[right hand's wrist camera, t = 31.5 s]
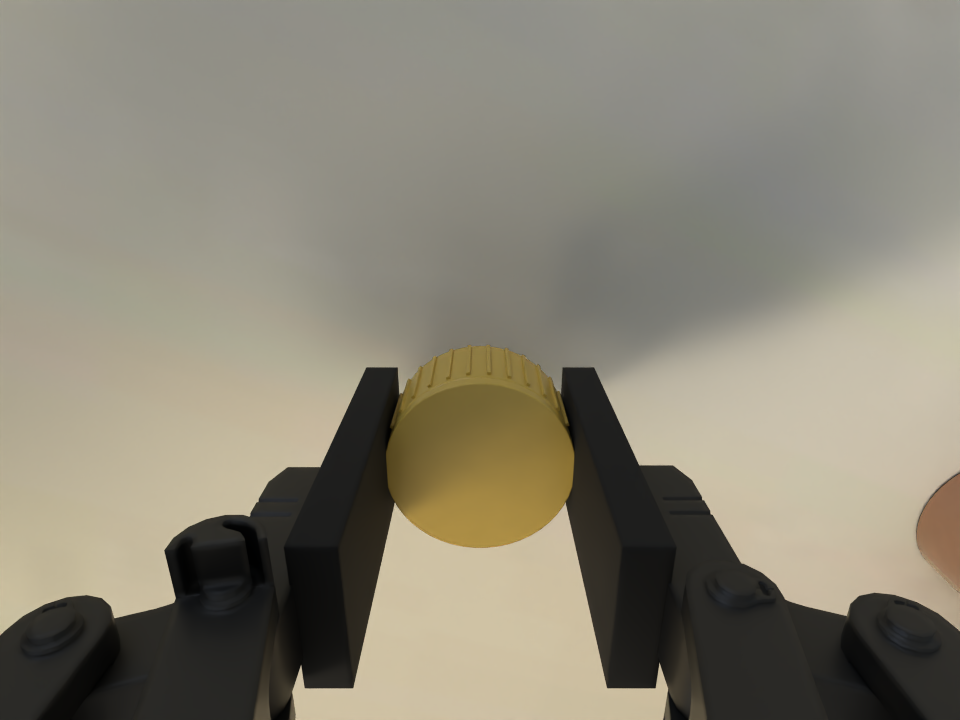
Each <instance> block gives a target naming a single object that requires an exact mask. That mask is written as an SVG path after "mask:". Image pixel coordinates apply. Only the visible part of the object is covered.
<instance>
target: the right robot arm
mask: <svg viewBox="0 0 960 720" xmlns="http://www.w3.org/2000/svg"><path fill="white" fill-rule="evenodd" d="M561 397H562V401H563V404H564V408H565V411H566V415H567V418H568V422H569V425H570V426H568V428H569V432H570V435H571V439H572V444H573V448H574V470H573V484H572V489H571V492H570V494H569V497H568V498H567V500H566V506H567V511H568V515H569V520H570V524H571V528H572V533H573V537H574V542H575V546H576V551H577V555H578V560H579V564H580V569H581V573H582V578H583V582H584V587H585V591H586V596H587V600H588V604H589V609H590V613H591V618H592V622H593V627H594V631H595V636H596V640H597V645H598V649H599V654H600V658H601V663H602V667H603V671H604V676H605V680H606V685H607V688H656V682H657V675H658V668H659V662H660V665H661V668H662V671H663V674H664V677H665V680H666V683H667V686H668V694H667V701H666V707H665V713H664V719H663V720H960V631H959V630H958V629H957V628H955V627H954V626H953V625H952V624H950V623H949V622H948V621H947V620H945V619H944V618H943V617H942V616H940V615H939V614H938V613H936V612H934V611H932V610H930V609H928V608H927V607H925V606H923V605H921V604H919V603H917V602H914V601H911V600H908V599H905V598H902V597H899V596H896V595H890V594H880V593H871V594H867V595H862V596H859V597H858V598H857V599H855V600H854V601H853V602H852V603H851V604H850V608H849V611H848V614H847V616H844V615H839V614H835V613H831V612H827V611H822V610H818V609H814V608H809V607H805V606H802V605H799V604H795V603H792V602H789V601H787V600H785V599H784V597H783V595H782V593H781V592H780V590H779V589H778V587H777V586H776V584H775V583H773V582H772V581H771V580H770V579H769V578H767V577H766V576H765V575H764V574H763V573H761V572H759V571H757V570H755V569H753V568H751V567H749V566H747V565H745V564H741V562H740V561H739V559H738V557H737V556H736V554H735V552H734V551H733V549H732V547H731V545H730V544H729V542H728V540H727V539H726V537H725V535H724V534H723V532H722V530H721V529H720V527H719V525H718V523H717V522H716V520H715V518H714V517H713V515H711V514H710V510H709V508H708V506H707V505H706V503H705V501H704V500H702V496H701V495H700V493H699V491H698V490H697V488H696V486H695V484H694V483H693V481H692V480H691V479H690V478H689V477H687V476H686V475H685V474H683V473H682V472H681V471H679V470H678V469H677V468H675V467H674V466H639V464H638V462H637V460H636V458H635V455H634V453H633V451H632V449H631V447H630V445H629V442H628V440H627V438H626V436H625V434H624V432H623V429H622V427H621V425H620V423H619V421H618V419H617V416H616V414H615V412H614V410H613V408H612V406H611V403H610V401H609V399H608V397H607V395H606V393H605V390H604V388H603V386H602V384H601V382H600V380H599V377H598V375H597V373H596V371H595V369H594V368H563V370H562V388H561ZM398 398H399V381H398V368H366V370H365V372H364V374H363V376H362V378H361V380H360V383H359V385H358V387H357V389H356V391H355V393H354V396H353V398H352V400H351V402H350V404H349V406H348V409H347V411H346V413H345V415H344V417H343V419H342V422H341V424H340V426H339V428H338V430H337V432H336V435H335V437H334V439H333V441H332V443H331V445H330V448H329V450H328V452H327V454H326V456H325V458H324V461H323V463H322V465H321V467H288V468H286V469H285V470H284V471H282V472H281V473H280V474H278V475H277V476H276V477H275V478H273V479H272V480H271V481H269V482H268V484H267V486H266V488H265V489H264V491H263V493H262V494H261V496H260V498H259V502H257V503H256V505H255V506H254V508H253V510H252V511H251V515H250V517H248V516H245V515H224V516H219V517H215V518H210V519H206V520H204V521H201V522H199V523H197V524H195V525H192V526H190V527H188V528H187V529H185V530H184V531H182V532H181V533H180V534H178V535H177V536H176V537H174V538H173V539H172V541H171V542H170V543H169V545H168V546H167V548H166V549H165V550H164V551H165V555H166V559H167V563H168V567H169V572H170V576H171V580H172V584H173V588H174V592H175V596H176V600H175V602H174V603H173V604H170V605H166V606H163V607H160V608H157V609H153V610H149V611H144V612H140V613H136V614H131V615H127V616H123V617H119V618H114V616H113V613H112V609H111V606H110V605H109V604H107V603H106V602H105V601H104V600H103V599H102V598H98V597H93V596H88V595H85V596H75V597H67V598H64V599H60V600H57V601H54V602H51V603H48V604H45V605H43V606H41V607H39V608H38V609H36V610H34V611H32V612H30V613H28V614H26V615H24V616H23V617H22V618H20V619H19V620H18V621H17V622H15V623H14V624H13V625H12V626H10V627H9V628H8V629H7V630H5V631H4V632H3V633H2V634H1V635H0V720H295V715H296V714H295V707H294V701H293V694H292V690H293V687H294V684H295V681H296V678H297V675H298V672H299V669H300V666H302V673H303V679H304V686H305V688H353V687H354V682H355V678H356V673H357V669H358V664H359V660H360V655H361V651H362V646H363V642H364V637H365V633H366V629H367V624H368V620H369V615H370V611H371V606H372V602H373V597H374V593H375V588H376V584H377V579H378V575H379V570H380V566H381V561H382V557H383V552H384V548H385V544H386V539H387V535H388V530H389V526H390V521H391V517H392V512H393V508H394V503H395V501H394V500H393V498H392V496H391V493H390V491H389V488H388V478H387V463H386V449H387V444H388V441H389V437H390V434H391V430H392V429H391V428H390V425H391V422H392V418H393V415H394V412H395V408H396V405H397V402H398Z"/></svg>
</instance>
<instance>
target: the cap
mask: <svg viewBox="0 0 960 720" xmlns="http://www.w3.org/2000/svg"><path fill="white" fill-rule="evenodd" d="M568 426H570V425H569V422H568V418H567V415H566V411H565V408H564V404H563V401H562V397H561V394H560V392H559V391H556V389H555V387H554V385H553V381H552V378H551V377H549V378H548V377H547V376H546V374H545V373H544V372H543V371H542V370H541V368H540V366H539V365H538V364H537V365H535V364H533V363H532V362H531V361H529V360H528V359H526V357H525V356H524V355H522V356H520V355H518V354H516V353H514V352H511V351H509V350H508V349H507V348H505V350H504V349H500V348H495V347H490V345H486V346H473V347H471V345H468V347H465V348H460V349H456V350H453V349H450V350H449V352H447V353H445V354H442V355H440V356H438V357H436V356H434V357H433V359H432V360H431V361H430V362H428V363H427V364H426V365H424V366H423V367H422V366H420V367H419V368H418V372H417V373H416V374H415V375H414V376H413V378H412V379H408V380H407V383H406V387H405V390H404V392H403V394H402V393H400V395H399V398H398V402H397V405H396V408H395V412H394V415H393V418H392V422H391V425H390V428H391V429H392V430H391V434H390V437H389V441H388V444H387V449H386V463H387V478H388V488H389V491H390V493H391V496H392V498H393V500H394V501H395V503H396V505H397V507H398V508H399V509H400V510H401V512H402V513H403V514H404V516H405V517H406V518H407V519H408V520H409V521H410V522H411V523H413V524H414V525H415V526H416V527H418V528H419V529H420V530H422V531H423V532H425V533H427V534H428V535H430V536H432V537H434V538H436V539H439V540H441V541H444V542H447V543H450V544H454V545H458V546H463V547H473V548H488V547H497V546H502V545H507V544H511V543H514V542H517V541H519V540H522V539H524V538H526V537H528V536H530V535H532V534H534V533H535V532H537V531H539V530H540V529H542V528H543V527H544V526H545V525H547V524H548V523H549V522H550V521H551V520H552V519H553V518H554V517H555V516H556V515H557V514H558V512H559V511H560V510H561V508H562V507H563V506H564V504H565V502H566V500H567V498H568V497H569V494H570V492H571V489H572V484H573V470H574V448H573V444H572V439H571V435H570V432H569V428H568Z"/></svg>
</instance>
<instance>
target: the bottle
mask: <svg viewBox="0 0 960 720" xmlns="http://www.w3.org/2000/svg"><path fill="white" fill-rule="evenodd" d="M917 543H918V547H919V550H920V552H921V554H922V556H923V557H924V559H925V560H926V561H927V562H928V563H929V564H930V565H931V566H932V567H933V568H934V569H935V570H936V571H937V572H938V573H939V574H940V575H941V576H942V577H943V578H944V579H945V580H946V581H947V582H948V583H949V584H950V585H951V586H952V587H953V588H954V589H955V590H956V591H957V592H958V593H959V594H960V474H958V475H957V476H955V477H954V478H952V479H951V480H949V481H948V482H947V483H946V484H944V485H943V486H942V487H941V488H940V489H939V490H938V491H937V492H936V493H935V494H934V495H933V497H932V498H931V499H930V500H929V502H928V503H927V505H926V506H925V508H924V510H923V512H922V514H921V516H920V519H919V522H918V526H917Z"/></svg>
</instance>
